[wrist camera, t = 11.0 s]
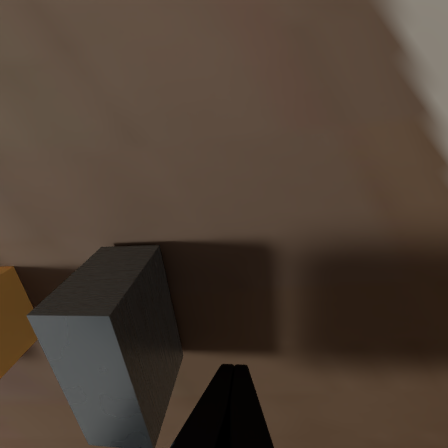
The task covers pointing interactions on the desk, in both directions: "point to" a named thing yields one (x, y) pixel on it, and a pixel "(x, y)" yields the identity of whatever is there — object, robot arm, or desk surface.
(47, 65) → the desk surface
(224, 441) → the robot arm
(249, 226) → the desk surface
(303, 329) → the desk surface
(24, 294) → the block
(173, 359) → the gray rectangular block
